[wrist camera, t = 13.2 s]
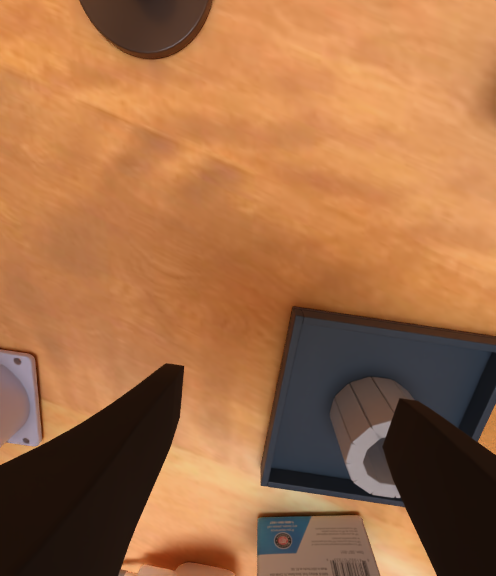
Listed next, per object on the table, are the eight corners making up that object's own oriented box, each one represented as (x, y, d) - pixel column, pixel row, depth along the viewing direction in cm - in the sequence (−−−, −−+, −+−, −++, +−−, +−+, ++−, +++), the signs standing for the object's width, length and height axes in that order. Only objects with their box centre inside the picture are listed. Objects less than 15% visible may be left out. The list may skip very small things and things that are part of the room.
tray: (260, 466, 22) (260, 485, 21) (292, 306, 18) (295, 315, 17) (431, 491, 22) (444, 513, 21) (500, 336, 18) (522, 349, 17)
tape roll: (322, 437, 21) (336, 490, 17) (340, 371, 19) (360, 413, 15) (398, 448, 21) (429, 504, 17) (422, 383, 19) (463, 428, 15)
